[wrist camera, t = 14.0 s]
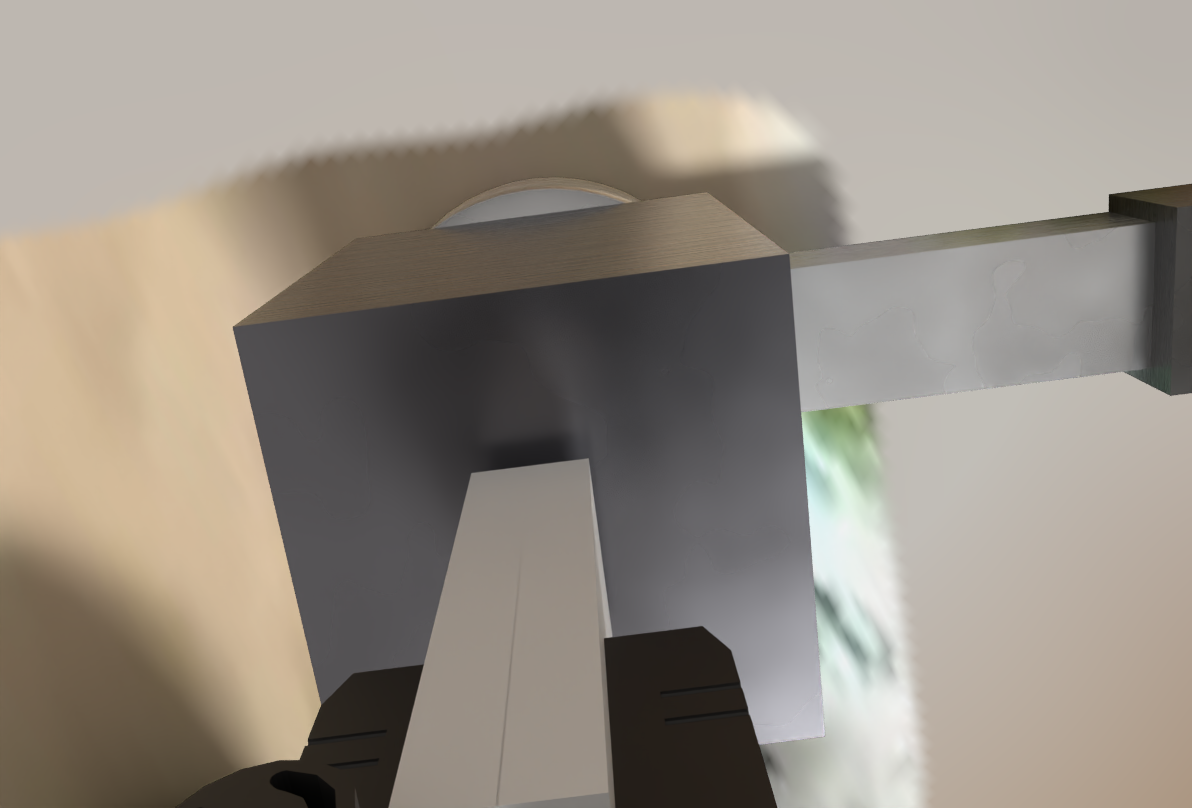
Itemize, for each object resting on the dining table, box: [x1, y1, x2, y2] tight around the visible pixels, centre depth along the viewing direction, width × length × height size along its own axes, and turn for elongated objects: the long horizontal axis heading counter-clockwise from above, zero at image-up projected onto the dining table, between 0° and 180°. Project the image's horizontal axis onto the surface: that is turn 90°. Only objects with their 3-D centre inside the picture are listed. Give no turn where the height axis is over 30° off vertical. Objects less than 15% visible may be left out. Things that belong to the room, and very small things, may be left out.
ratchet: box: [431, 177, 1192, 412], centre depth 21 cm, size 28×8×7 cm, turn 97°
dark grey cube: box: [233, 192, 825, 745], centre depth 18 cm, size 7×7×8 cm
